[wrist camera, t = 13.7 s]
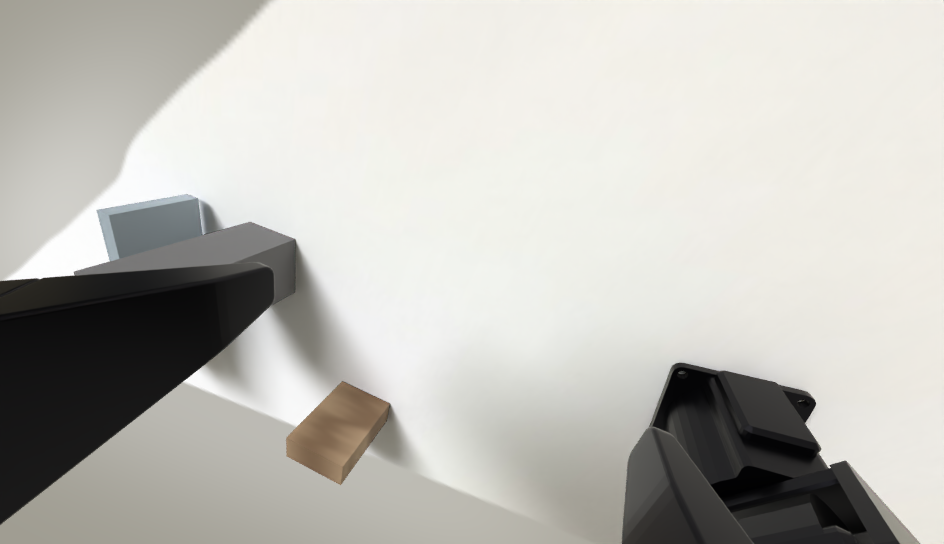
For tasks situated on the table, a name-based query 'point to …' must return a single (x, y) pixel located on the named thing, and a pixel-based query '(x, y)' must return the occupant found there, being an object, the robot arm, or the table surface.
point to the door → (149, 225)
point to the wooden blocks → (337, 432)
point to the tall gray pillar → (218, 255)
